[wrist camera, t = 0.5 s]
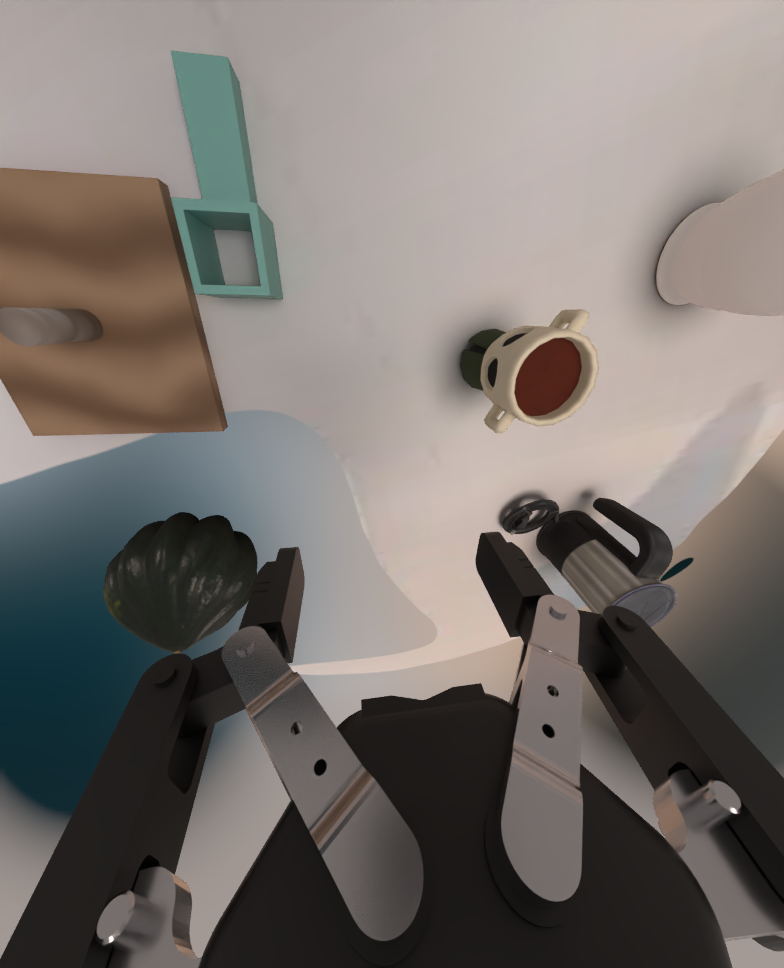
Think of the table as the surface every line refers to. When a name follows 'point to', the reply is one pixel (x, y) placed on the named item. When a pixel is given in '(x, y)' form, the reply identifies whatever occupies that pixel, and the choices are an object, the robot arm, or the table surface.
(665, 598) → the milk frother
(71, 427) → the base
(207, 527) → the squash
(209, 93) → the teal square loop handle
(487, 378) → the character mug
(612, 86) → the table surface
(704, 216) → the jar
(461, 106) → the table surface
